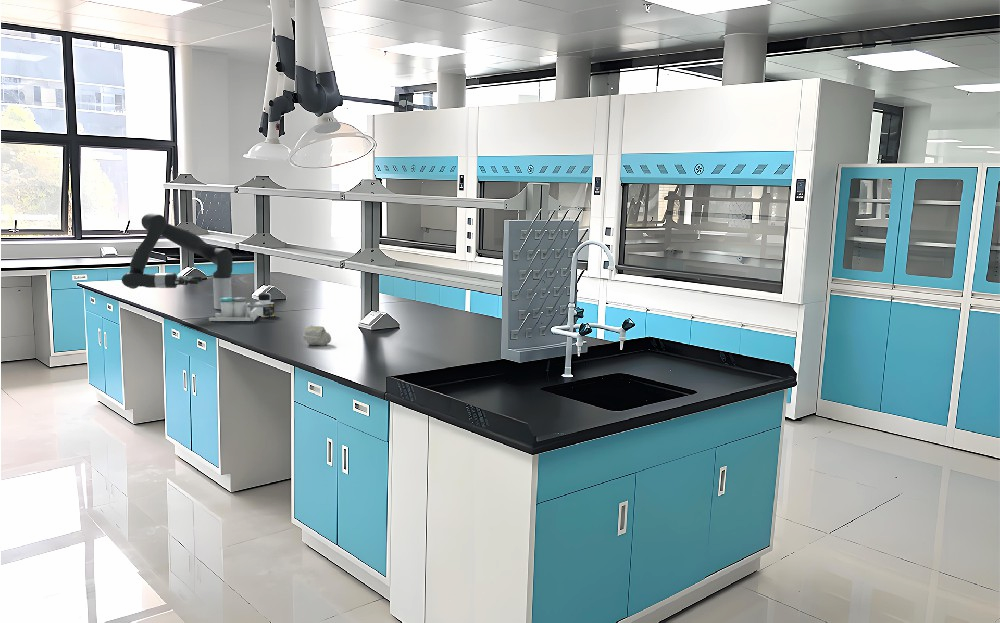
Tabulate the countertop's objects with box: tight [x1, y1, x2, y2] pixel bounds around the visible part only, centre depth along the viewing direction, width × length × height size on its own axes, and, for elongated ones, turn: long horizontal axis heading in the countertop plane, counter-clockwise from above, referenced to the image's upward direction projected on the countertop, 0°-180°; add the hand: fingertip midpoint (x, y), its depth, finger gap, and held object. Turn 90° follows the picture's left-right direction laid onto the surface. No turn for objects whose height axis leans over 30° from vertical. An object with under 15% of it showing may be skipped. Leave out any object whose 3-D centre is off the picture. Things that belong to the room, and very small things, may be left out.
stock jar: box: [232, 296, 248, 317], centre depth 391 cm, size 6×6×11 cm
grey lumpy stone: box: [302, 325, 332, 347], centre depth 336 cm, size 12×8×10 cm
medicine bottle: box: [254, 292, 275, 318], centre depth 403 cm, size 7×7×12 cm
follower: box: [245, 302, 269, 317], centre depth 392 cm, size 10×11×8 cm
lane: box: [208, 307, 258, 322], centre depth 391 cm, size 16×21×5 cm
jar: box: [220, 296, 234, 317], centre depth 389 cm, size 6×6×11 cm
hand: (199, 280), depth 385 cm, fingers open, 8 cm apart
